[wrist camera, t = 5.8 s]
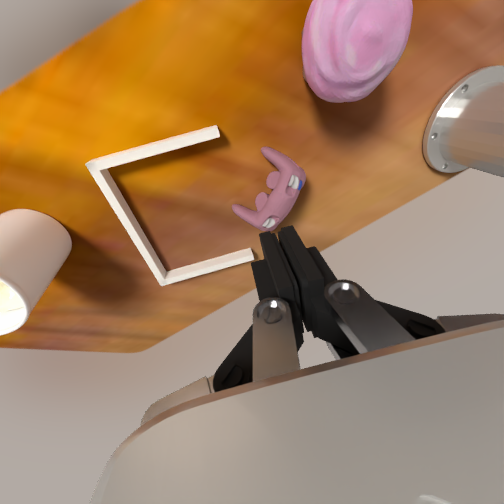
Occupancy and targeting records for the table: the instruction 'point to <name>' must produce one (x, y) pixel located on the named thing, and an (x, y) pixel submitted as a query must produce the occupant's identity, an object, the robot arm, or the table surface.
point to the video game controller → (275, 193)
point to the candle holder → (28, 262)
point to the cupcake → (353, 45)
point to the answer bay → (129, 221)
